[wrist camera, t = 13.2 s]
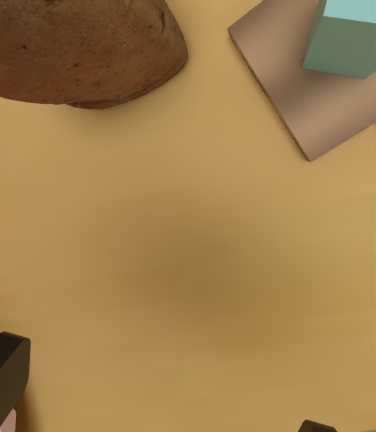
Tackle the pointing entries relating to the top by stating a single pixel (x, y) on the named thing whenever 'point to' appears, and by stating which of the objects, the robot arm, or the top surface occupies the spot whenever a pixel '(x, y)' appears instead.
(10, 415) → the fruit bowl
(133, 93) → the block
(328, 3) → the post
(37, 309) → the top surface
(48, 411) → the top surface
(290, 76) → the slab
